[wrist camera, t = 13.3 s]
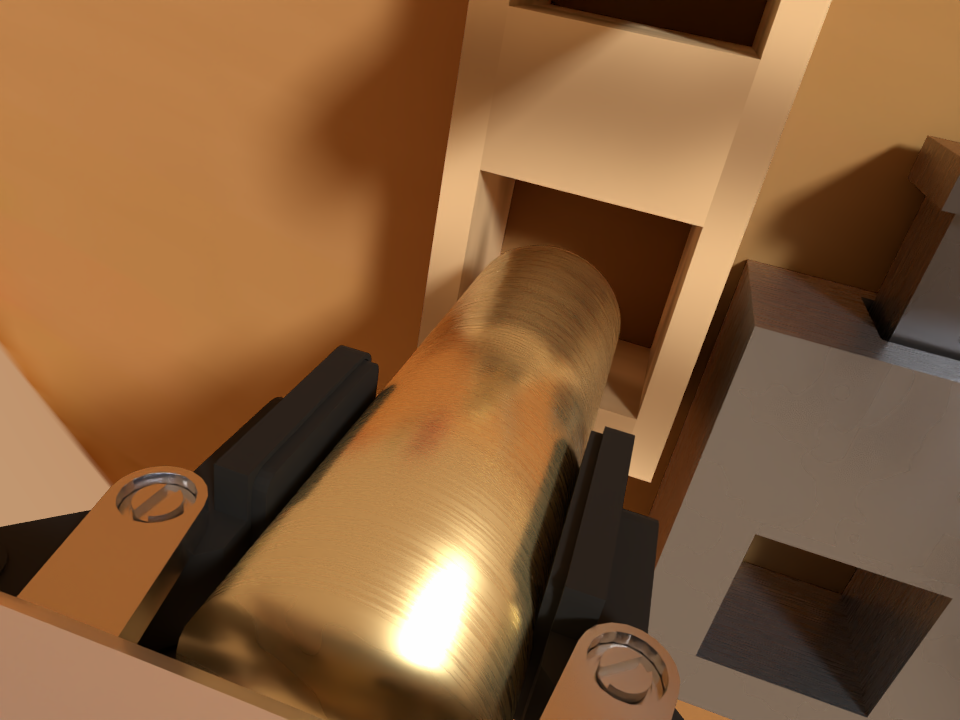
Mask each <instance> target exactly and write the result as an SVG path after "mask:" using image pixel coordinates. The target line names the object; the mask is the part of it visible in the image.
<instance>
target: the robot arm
mask: <svg viewBox="0 0 960 720" xmlns="http://www.w3.org/2000/svg"><path fill="white" fill-rule="evenodd" d="M378 373H379V367H378V364H376V363H372V362H371V355H370V354H369V353H366V352H363V351H359V350H356V349H353V348H350V347H346V346H343V345H340V346H339V347H337V348H336V349H335V350H334V351H333V352H332V353H331V354H330V355H329V356H328V357H327V358H326V359H325V360H324V361H323V362H321V363H320V364H319V365H318V366H317V367H316V368H315V369H314V370H313V371H312V372H311V373H310V374H309V375H308V376H307V377H306V378H304V379H303V380H302V381H301V382H300V383H299V384H298V385H297V386H296V387H295V388H294V389H293V390H292V391H291V392H290V393H289V394H287V395H286V396H285V397H284V398H282V397H277V398H274V399H273V400H271V401H270V402H269V403H268V404H267V405H265V406H264V407H263V408H262V409H261V410H260V411H259V412H258V413H257V414H256V415H255V416H253V417H252V418H251V419H250V420H249V421H248V422H247V423H246V424H245V425H244V426H243V427H241V428H240V429H239V430H238V431H237V432H236V433H235V434H234V435H233V436H232V437H231V438H229V439H228V440H227V441H226V442H225V443H224V444H223V445H222V446H221V447H220V448H219V449H218V450H216V451H215V452H214V453H213V454H212V455H211V456H210V457H209V458H208V459H207V460H206V461H204V462H203V463H202V464H201V465H200V466H199V467H198V468H197V469H196V470H195V471H194V472H192V471H190V470H187V469H184V468H180V467H172V466H157V467H148V468H145V469H141V470H138V471H134V472H132V473H130V474H128V475H126V476H124V477H122V478H121V479H120V480H118V481H117V482H116V483H115V484H114V485H113V486H111V487H110V489H109V490H108V491H107V492H106V493H105V495H104V496H103V497H102V498H101V499H100V500H99V501H98V503H97V504H96V505H95V506H94V507H93V508H92V510H89V511H84V512H78V513H73V514H67V515H62V516H56V517H51V518H46V519H41V520H35V521H30V522H25V523H19V524H14V525H8V526H3V527H0V720H324V719H322V718H319V717H317V716H314V715H312V714H309V713H307V712H304V711H302V710H299V709H297V708H294V707H292V706H290V705H287V704H285V703H282V702H280V701H277V700H275V699H272V698H270V697H267V696H265V695H262V694H260V693H257V692H255V691H252V690H250V689H247V688H245V687H242V686H240V685H237V684H235V683H232V682H230V681H227V680H225V679H223V678H220V677H218V676H215V675H213V674H210V673H208V672H205V671H203V670H200V669H198V668H195V667H193V666H190V665H188V664H185V663H183V662H180V661H178V660H176V650H177V646H178V642H179V638H180V636H181V634H182V631H183V629H184V627H185V626H186V624H187V623H188V622H189V621H190V619H191V618H192V617H193V616H194V614H195V613H196V612H197V611H198V610H199V609H200V607H201V606H202V605H203V604H204V603H205V601H206V600H207V599H208V598H209V597H210V595H211V594H212V593H213V592H214V591H215V589H216V588H217V587H218V586H219V585H220V583H221V582H222V581H223V580H224V579H225V577H226V576H227V575H228V574H229V573H230V572H231V570H232V569H233V568H234V567H235V566H236V564H237V563H238V562H239V561H240V560H241V558H242V557H243V556H244V555H245V554H246V552H247V551H248V550H249V549H250V548H251V546H252V545H253V544H254V543H255V542H256V540H257V539H258V538H259V537H260V536H261V535H262V533H263V532H264V531H265V530H266V529H267V527H268V526H269V525H270V524H271V523H272V521H273V520H274V519H275V518H276V517H277V515H278V514H279V513H280V512H281V511H282V509H283V508H284V507H285V506H286V505H287V503H288V502H289V501H290V500H291V499H292V498H293V496H294V495H295V494H296V493H297V492H298V490H299V489H300V488H301V487H302V486H303V484H304V483H305V482H306V481H307V480H308V478H309V477H310V476H311V475H312V474H313V472H314V471H315V470H316V469H317V468H318V466H319V465H320V464H321V463H322V462H323V461H324V459H325V458H326V457H327V456H328V455H329V453H330V452H331V451H332V450H333V449H334V447H335V446H336V445H337V444H338V443H339V441H340V440H341V439H342V438H343V437H344V435H345V434H346V433H347V432H348V431H349V429H350V428H351V427H352V426H353V425H354V424H355V422H356V421H357V420H358V419H359V418H360V416H361V415H362V414H363V413H364V412H365V410H366V409H367V408H368V407H369V406H370V404H371V403H372V402H373V401H374V400H375V398H376V389H377V381H378ZM634 440H635V435H633V434H629V433H626V432H623V431H620V430H616V429H613V428H610V427H607V426H605V428H604V431H603V434H602V433H599V432H595V431H592V430H591V433H590V436H589V439H588V442H587V446H586V449H585V452H584V455H583V459H582V462H581V465H580V468H579V472H578V475H577V479H576V482H575V486H574V489H573V493H572V496H571V500H570V504H569V507H568V511H567V514H566V518H565V521H564V525H563V528H562V532H561V535H560V539H559V542H558V546H557V549H556V553H555V556H554V560H553V563H552V567H551V570H550V574H549V577H548V581H547V584H546V588H545V591H544V595H543V598H542V602H541V606H540V609H539V613H538V616H537V620H536V623H535V627H534V630H533V644H532V651H531V655H530V660H529V664H528V667H527V671H526V674H525V678H524V682H523V685H522V689H521V692H520V696H519V700H518V703H517V707H516V710H515V714H514V718H513V719H515V720H684V719H683V718H682V716H681V715H680V714H679V712H678V711H677V710H676V709H675V706H676V702H677V699H678V696H679V689H680V677H679V674H678V670H677V666H676V664H675V662H674V661H673V659H672V657H671V656H670V654H669V652H668V651H667V650H666V649H665V648H664V647H663V646H662V645H661V644H660V643H659V642H658V641H657V640H656V639H655V638H653V637H652V636H650V635H648V627H649V618H650V608H651V598H652V589H653V579H654V569H655V560H656V550H657V541H658V531H659V521H658V520H656V519H653V518H650V517H647V516H644V515H641V514H638V513H635V512H632V511H629V510H626V509H623V502H624V496H625V491H626V485H627V480H628V474H629V468H630V463H631V457H632V452H633V446H634Z"/></svg>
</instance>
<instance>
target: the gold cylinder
mask: <svg viewBox="0 0 960 720" xmlns="http://www.w3.org/2000/svg"><path fill="white" fill-rule="evenodd" d="M620 324H621V321H620V311H619V306H618V302H617V300H616V297H615V294H614V292H613V290H612V288H611V286H610V285H609V283H608V282H607V280H606V279H605V277H604V276H603V275H602V274H601V273H600V272H599V271H598V270H597V269H596V268H595V267H594V266H593V265H592V264H590V263H589V262H588V261H586V260H585V259H583V258H582V257H580V256H578V255H576V254H574V253H572V252H570V251H567V250H564V249H561V248H557V247H552V246H544V245H533V246H525V247H519V248H516V249H513V250H510V251H508V252H506V253H504V254H502V255H500V256H499V257H497V258H496V259H494V260H493V261H492V262H491V263H489V264H488V265H487V266H486V267H485V268H484V270H483V271H482V272H481V273H480V274H479V276H478V277H477V278H476V279H475V280H474V281H473V283H472V284H471V285H470V286H469V287H468V289H467V290H466V291H465V292H464V293H463V295H462V296H461V297H460V298H459V299H458V301H457V302H456V303H455V304H454V305H453V307H452V308H451V309H450V310H449V311H448V313H447V314H446V315H445V316H444V317H443V318H442V320H441V321H440V322H439V323H438V324H437V326H436V327H435V328H434V329H433V330H432V332H431V333H430V334H429V335H428V336H427V338H426V339H425V340H424V341H423V342H422V344H421V345H420V346H419V347H418V348H417V350H416V351H415V352H414V353H413V354H412V355H411V357H410V358H409V359H408V360H407V361H406V363H405V364H404V365H403V366H402V367H401V369H400V370H399V371H398V372H397V373H396V375H395V376H394V377H393V378H392V379H391V381H390V382H389V383H388V384H387V385H386V387H385V388H384V389H383V390H382V391H381V392H380V394H379V395H378V396H377V397H376V398H375V400H374V401H373V402H372V403H371V404H370V406H369V407H368V408H367V409H366V410H365V412H364V413H363V414H362V415H361V416H360V418H359V419H358V420H357V421H356V422H355V424H354V425H353V426H352V427H351V428H350V429H349V431H348V432H347V433H346V434H345V435H344V437H343V438H342V439H341V440H340V441H339V443H338V444H337V445H336V446H335V447H334V449H333V450H332V451H331V452H330V453H329V455H328V456H327V457H326V458H325V459H324V461H323V462H322V463H321V464H320V465H319V466H318V468H317V469H316V470H315V471H314V472H313V474H312V475H311V476H310V477H309V478H308V480H307V481H306V482H305V483H304V484H303V486H302V487H301V488H300V489H299V490H298V492H297V493H296V494H295V495H294V496H293V498H292V499H291V500H290V501H289V502H288V503H287V505H286V506H285V507H284V508H283V509H282V511H281V512H280V513H279V514H278V515H277V517H276V518H275V519H274V520H273V521H272V523H271V524H270V525H269V526H268V527H267V529H266V530H265V531H264V532H263V533H262V535H261V536H260V537H259V538H258V539H257V540H256V542H255V543H254V544H253V545H252V546H251V548H250V549H249V550H248V551H247V552H246V554H245V555H244V556H243V557H242V558H241V560H240V561H239V562H238V563H237V564H236V566H235V567H234V568H233V569H232V570H231V572H230V573H229V574H228V575H227V576H226V577H225V579H224V580H223V581H222V582H221V583H220V585H219V586H218V587H217V588H216V589H215V591H214V592H213V593H212V594H211V595H210V597H209V598H208V599H207V600H206V601H205V603H204V604H203V605H202V606H201V607H200V609H199V610H198V611H197V612H196V613H195V614H194V616H193V617H192V618H191V619H190V621H189V622H188V623H187V624H186V626H185V627H184V629H183V631H182V634H181V636H180V638H179V642H178V646H177V650H176V660H178V661H180V662H183V663H185V664H188V665H190V666H193V667H195V668H198V669H200V670H203V671H205V672H208V673H210V674H213V675H215V676H218V677H220V678H223V679H225V680H227V681H230V682H232V683H235V684H237V685H240V686H242V687H245V688H247V689H250V690H252V691H255V692H257V693H260V694H262V695H265V696H267V697H270V698H272V699H275V700H277V701H280V702H282V703H285V704H287V705H290V706H292V707H294V708H297V709H299V710H302V711H304V712H307V713H309V714H312V715H314V716H317V717H319V718H322V719H324V720H513V718H514V714H515V710H516V707H517V703H518V700H519V696H520V692H521V689H522V685H523V682H524V678H525V674H526V671H527V667H528V664H529V660H530V655H531V651H532V644H533V630H534V627H535V623H536V620H537V616H538V613H539V609H540V606H541V602H542V598H543V595H544V591H545V588H546V584H547V581H548V577H549V574H550V570H551V567H552V563H553V560H554V556H555V553H556V549H557V546H558V542H559V539H560V535H561V532H562V528H563V525H564V521H565V518H566V514H567V511H568V507H569V504H570V500H571V496H572V493H573V489H574V486H575V482H576V479H577V475H578V472H579V468H580V465H581V462H582V459H583V455H584V452H585V449H586V446H587V442H588V439H589V436H590V433H591V430H592V431H593V429H594V426H595V422H596V418H597V415H598V411H599V407H600V404H601V400H602V397H603V393H604V389H605V386H606V382H607V379H608V375H609V371H610V368H611V364H612V361H613V357H614V353H615V350H616V346H617V343H618V338H619V334H620Z"/></svg>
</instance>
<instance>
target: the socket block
mask: <svg viewBox="0 0 960 720" xmlns="http://www.w3.org/2000/svg"><path fill="white" fill-rule="evenodd" d="M877 294H878V293H875V292H871V291H867V290H863V289H859V288H855V287H852V286H848V285H844V284H840V283H836V282H833V281H829V280H825V279H821V278H817V277H813V276H810V275H806V274H802V273H798V272H794V271H791V270H787V269H783V268H779V267H775V266H771V265H768V264H764V263H760V262H756V261H752V260H748V259H747V262H746V265H745V267H744V270H743V272H742V275H741V278H740V280H739V283H738V285H737V288H736V291H735V293H734V296H733V298H732V301H731V304H730V306H729V309H728V311H727V314H726V317H725V319H724V322H723V324H722V327H721V329H720V332H719V335H718V337H717V340H716V342H715V345H714V348H713V350H712V353H711V355H710V358H709V361H708V363H707V366H706V368H705V371H704V374H703V376H702V379H701V381H700V384H699V387H698V389H697V392H696V394H695V397H694V400H693V402H692V405H691V407H690V410H689V413H688V415H687V418H686V420H685V423H684V426H683V428H682V431H681V433H680V436H679V439H678V441H677V444H676V446H675V449H674V451H673V454H672V457H671V459H670V462H669V464H668V467H667V470H666V472H665V475H664V477H663V480H662V483H661V485H660V488H659V490H658V493H657V496H656V498H655V501H654V503H653V506H652V509H651V511H650V514H649V516H648V517H650V518H653V519H656V520H658V521H659V531H658V541H657V550H656V560H655V569H654V579H653V589H652V598H651V608H650V618H649V627H648V635H650V636H652V637H653V638H655V639H656V640H657V641H658V642H659V643H660V644H661V645H662V646H663V647H664V648H665V649H666V650H667V651H668V652H669V654H670V656H671V657H672V659H673V661H674V662H675V664H676V666H677V670H678V674H679V677H680V689H679V696H678V700H681V701H684V702H686V703H689V704H692V705H694V706H697V707H700V708H702V709H705V710H708V711H710V712H713V713H716V714H719V715H721V716H724V717H727V718H729V719H732V720H960V361H958V360H954V359H950V358H947V357H943V356H939V355H936V354H932V353H928V352H925V351H921V350H917V349H913V348H910V347H906V346H902V345H899V344H895V343H891V342H888V341H884V340H881V338H880V336H879V334H878V332H877V330H876V328H875V326H874V324H873V321H872V319H871V317H870V315H869V313H868V312H869V310H870V308H871V306H872V304H873V302H874V300H875V298H876V296H877ZM755 534H756V535H760V536H763V537H766V538H769V539H772V540H775V541H778V542H781V543H784V544H787V545H790V546H793V547H796V548H799V549H802V550H806V551H809V552H812V553H815V554H818V555H821V556H824V557H827V558H830V559H833V560H836V561H839V562H842V563H845V564H848V565H852V566H855V567H858V568H857V570H856V572H855V573H854V575H853V577H852V578H851V580H850V582H849V583H848V585H847V587H846V588H845V590H844V592H843V593H842V595H841V594H838V593H835V592H832V591H829V590H826V589H823V588H820V587H817V586H814V585H811V584H808V583H805V582H802V581H799V580H796V579H793V578H790V577H787V576H784V575H781V574H778V573H775V572H772V571H769V570H766V569H763V568H760V567H757V566H754V565H751V564H748V563H745V562H742V560H743V558H744V556H745V554H746V552H747V550H748V548H749V546H750V544H751V542H752V540H753V538H754V536H755Z"/></svg>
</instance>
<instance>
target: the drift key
mask: <svg viewBox="0 0 960 720" xmlns="http://www.w3.org/2000/svg"><path fill="white" fill-rule="evenodd" d="M908 179H909V180H910V181H911V182H912V183H913V184H914V185H915V186H916V187H917V188H918V189H919V190H920V191H921V192H922V193H923V194H924V195H925V196H926V197H925V199H924V201H923V203H922V205H921V207H920V209H919V211H918V213H917V215H916V217H915V219H914V221H913V223H912V225H911V227H910V229H909V231H908V233H907V235H906V237H905V239H904V241H903V243H902V245H901V247H900V249H899V251H898V253H897V255H896V257H895V259H894V261H893V263H892V265H891V267H890V269H889V271H888V273H887V275H886V277H885V279H884V281H883V283H882V286H881V288H880V290H879V292H878V294H877V296H876V298H875V300H874V302H873V304H872V306H871V308H870V310H869V312H868V313H869V315H870V317H871V319H872V321H873V324H874V326H875V328H876V330H877V332H878V334H879V336H880V338H881V340H884V341H888V342H891V343H895V344H899V345H902V346H906V347H910V348H913V349H917V350H921V351H925V352H928V353H932V354H936V355H939V356H943V357H947V358H950V359H954V360H958V361H960V143H959V142H955V141H950V140H946V139H941V138H937V137H932V136H927V138H926V140H925V142H924V144H923V146H922V149H921V151H920V153H919V155H918V157H917V159H916V161H915V163H914V165H913V167H912V170H911V172H910V174H909V176H908Z"/></svg>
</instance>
